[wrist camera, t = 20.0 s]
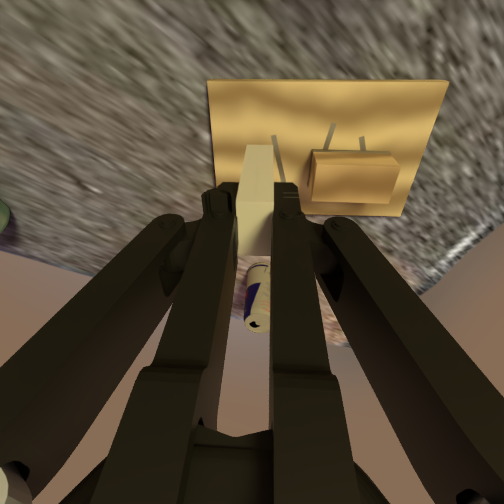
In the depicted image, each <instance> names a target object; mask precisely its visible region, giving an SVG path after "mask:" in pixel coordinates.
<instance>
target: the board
mask: <svg viewBox="0 0 504 504" xmlns="http://www.w3.org/2000/svg"><path fill="white" fill-rule="evenodd" d="M448 84H449V82H448V81H445V80H298V79H209V80H208V81H207V85H208V96H209V107H210V119H211V130H212V141H213V152H214V164H215V175H216V186H218V185H220V184H221V183H222V182H240V177H241V172H242V167H243V162H244V157H245V152H246V146H247V145H273V165H274V182H293V183H294V184H295V185H296V186H297V187H298V192H299V198H300V205H301V211H302V212H304V214H321V215H364V216H400V215H401V212H402V210H403V207H404V204H405V202H406V199H407V196H408V193H409V191H410V188H411V185H412V183H413V180H414V177H415V174H416V172H417V169H418V166H419V163H420V161H421V158H422V155H423V153H424V150H425V147H426V144H427V142H428V139H429V136H430V133H431V131H432V128H433V125H434V123H435V120H436V117H437V114H438V112H439V109H440V106H441V103H442V101H443V98H444V95H445V93H446V90H447V87H448ZM312 149H331V150H367V151H390V153H391V156H392V157H393V158H394V159H395V160H396V161H397V163H398V164H399V165H400V166H401V169H400V172H399V175H398V178H397V181H396V184H395V187H394V189H393V192H392V195H391V198H390V201H389V204H380V203H350V202H320V201H311V197H310V193H309V188H308V187H307V181H308V174H309V166H310V159H311V152H312Z"/></svg>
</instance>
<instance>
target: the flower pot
mask: <svg viewBox="0 0 504 504" xmlns="http://www.w3.org/2000/svg"><path fill="white" fill-rule="evenodd" d="M9 219H10V209H9V208H8V207H7V206H6V205H5V204H4V203H3V202H2V201H1V200H0V234H1V233H2V231H3V230H4V229H5V228H6V226H7V225H8V222H9Z"/></svg>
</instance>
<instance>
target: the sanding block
mask: <svg viewBox="0 0 504 504" xmlns="http://www.w3.org/2000/svg"><path fill="white" fill-rule="evenodd" d="M400 169H401V166H400V165H399V164H398V163H397V161H396V160H395V159H394V158H393V157H392V156H391V153H390V151H367V150H331V149H312V152H311V159H310V166H309V174H308V181H307V187H308V188H309V193H310V197H311V201H320V202H350V203H380V204H389V201H390V198H391V195H392V192H393V189H394V187H395V184H396V181H397V178H398V175H399V172H400Z"/></svg>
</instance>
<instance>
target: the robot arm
mask: <svg viewBox="0 0 504 504" xmlns="http://www.w3.org/2000/svg"><path fill="white" fill-rule="evenodd" d="M201 197H202V205H203V213H204V214H203V217H202V219H200V220H197V221H192V222H186V223H185V222H184V218H183V217H182V216H180V215H177V214H164V215H161V216H159V217H157V218H155V219H154V220H152V221H151V222H150V223H149V224H148V225H147V226H146V227H145V228H144V229H143V230H142V231H141V232H140V233H139V234H138V235H137V236H136V237H135V238H134V239H133V240H132V241H131V242H130V243H129V244H128V245H127V246H126V247H125V248H123V249H122V250H121V251H120V252H119V253H118V254H117V255H116V256H115V257H114V258H113V259H112V260H111V261H110V262H109V263H108V264H107V265H106V266H105V267H104V268H103V269H102V270H101V271H100V272H99V273H98V274H97V275H96V276H95V277H93V278H92V280H90V281H89V282H88V283H87V284H86V285H85V286H84V287H83V288H82V289H81V290H80V291H79V292H78V293H77V294H76V295H75V296H74V297H73V298H72V299H71V300H70V301H69V302H68V303H67V304H66V305H65V306H64V307H62V308H61V309H60V310H59V311H58V312H57V313H56V314H55V315H54V316H53V317H52V318H51V319H50V320H49V321H48V322H47V323H46V324H45V325H44V326H43V327H42V328H41V329H40V330H39V331H38V332H37V333H36V334H35V335H34V336H32V338H30V339H29V340H28V341H27V342H26V343H25V344H24V345H23V346H22V347H21V348H20V349H19V350H18V351H17V352H16V353H15V354H14V355H13V356H12V357H11V358H10V359H9V360H8V361H7V362H6V363H4V364H3V366H1V367H0V504H32V501H33V500H34V498H35V497H36V496H37V495H38V494H39V493H40V492H41V491H42V490H43V489H44V488H45V487H46V485H47V484H48V483H49V482H50V481H51V480H52V478H53V477H54V476H55V475H56V474H57V472H58V471H59V470H60V469H61V468H62V466H63V465H64V463H65V462H66V461H67V459H68V458H69V457H70V455H71V454H72V452H73V451H74V450H75V448H76V447H77V446H78V444H79V442H80V441H81V440H82V438H83V437H84V435H85V434H86V432H87V431H88V429H89V428H90V426H91V425H92V423H93V422H94V420H95V419H96V417H97V416H98V414H99V412H100V411H101V410H102V408H103V407H104V405H105V404H106V402H107V401H108V399H109V398H110V396H111V395H112V393H113V391H114V390H115V389H116V387H117V386H118V384H119V383H120V381H121V380H122V378H123V377H124V375H125V374H126V372H127V371H128V369H129V368H130V366H131V365H132V363H133V362H134V360H135V358H136V357H137V356H138V354H139V353H140V351H141V349H142V348H143V347H144V345H145V344H146V342H147V341H148V339H149V338H150V336H151V335H152V333H153V332H154V330H155V329H156V327H157V326H158V324H159V322H160V321H161V320H162V318H163V317H164V315H165V314H166V312H167V311H168V309H169V308H170V306H171V305H172V308H171V310H170V313H169V316H168V319H167V322H166V325H165V328H164V331H163V334H162V337H161V339H160V342H159V345H158V349H157V351H156V354H155V357H154V360H153V362H152V364H151V365H150V366H146V367H143V369H142V370H141V371H140V372H139V374H138V377H137V379H136V381H135V383H134V386H133V389H132V392H131V394H130V397H129V400H128V402H127V405H126V408H125V410H124V413H123V416H122V419H121V421H120V424H119V427H118V429H117V432H116V435H115V437H114V440H113V443H112V445H111V448H110V451H109V454H108V456H107V457H106V458H105V459H104V460H102V461H101V462H100V463H99V464H98V465H97V466H96V467H95V468H94V469H93V470H92V471H91V472H90V473H89V474H88V475H87V476H86V477H85V478H84V479H83V480H82V481H81V482H80V483H79V484H78V485H77V486H76V487H75V488H74V489H73V490H72V491H71V492H70V493H69V494H68V495H67V496H66V497H65V498H64V499H63V500H62V501H61V502H60V503H59V504H390V503H389V502H388V501H387V499H386V498H385V497H384V495H383V494H382V493H381V492H380V490H379V489H378V488H377V486H376V485H375V484H374V483H373V481H372V480H371V479H370V478H369V476H368V475H367V474H366V473H365V472H364V471H363V470H362V469H361V468H360V467H359V466H358V465H357V464H356V463H355V462H354V461H353V457H352V451H351V446H350V441H349V435H348V429H347V424H346V418H345V412H344V407H343V401H342V396H341V390H340V386H339V382H338V379H337V377H336V376H335V375H333V374H332V373H331V370H330V365H329V359H328V353H327V347H326V341H325V334H324V328H323V322H322V316H321V310H320V304H319V298H318V291H317V285H316V279H317V281H318V283H319V285H320V287H321V289H322V291H323V293H324V295H325V297H326V299H327V301H328V303H329V305H330V306H331V308H332V310H333V312H334V314H335V316H336V318H337V320H338V322H339V324H340V326H341V328H342V330H343V332H344V334H345V336H346V338H347V340H348V342H349V344H350V345H351V347H352V349H353V351H354V353H355V355H356V357H357V359H358V361H359V363H360V365H361V367H362V369H363V371H364V373H365V375H366V377H367V379H368V381H369V383H370V384H371V386H372V388H373V390H374V392H375V394H376V396H377V398H378V400H379V402H380V404H381V406H382V408H383V410H384V412H385V414H386V416H387V418H388V420H389V422H390V423H391V425H392V427H393V429H394V431H395V433H396V435H397V437H398V439H399V441H400V443H401V445H402V447H403V449H404V451H405V453H406V455H407V456H408V459H409V460H410V462H411V464H412V466H413V468H414V470H415V472H416V473H417V475H418V477H419V479H420V480H421V482H422V484H423V486H424V487H425V489H426V491H427V492H428V494H429V495H430V496H431V498H432V500H433V501H434V503H435V504H504V397H503V396H502V395H501V394H500V393H499V392H498V390H497V389H496V388H495V387H494V386H493V385H492V383H491V382H490V381H489V380H488V378H487V377H486V376H485V375H484V374H483V373H482V372H481V370H480V369H479V368H478V367H477V365H476V364H475V363H474V362H473V361H472V360H471V358H470V357H469V356H468V355H467V354H466V352H465V351H464V350H463V349H462V348H461V346H460V345H459V344H458V343H457V342H456V341H455V339H454V338H453V337H452V336H451V335H450V333H449V332H448V331H447V330H446V329H445V328H444V327H443V325H442V324H441V323H440V322H439V320H438V319H437V318H436V317H435V316H434V315H433V313H432V312H431V311H430V310H429V309H428V307H426V305H425V304H424V303H423V302H422V300H421V299H420V298H419V297H418V296H417V294H416V293H415V292H414V291H413V290H412V289H411V287H410V286H409V285H408V284H407V283H406V281H405V280H404V279H403V278H402V277H401V276H400V274H399V273H398V272H397V271H396V270H395V268H394V267H393V266H392V265H391V264H390V263H389V261H388V260H387V259H386V258H385V257H384V255H383V254H382V253H381V252H380V251H379V250H378V248H377V247H376V246H375V245H374V244H373V242H372V241H371V240H370V239H369V238H368V236H367V235H366V234H365V233H364V232H363V231H362V229H361V228H360V227H359V226H358V225H357V224H356V223H355V222H354V221H352V220H350V219H348V218H345V217H344V218H343V217H332V218H328V219H327V220H325V222H324V225H321V224H317V223H313V222H311V221H308V220H307V219H306V218H305V214H304V212H302V211H301V205H300V198H299V192H298V187H297V186H296V185H295V184H294V183H293V182H274V165H273V145H247V146H246V152H245V157H244V162H243V167H242V172H241V177H240V182H222V183H221V184H220V185H218V186H217V188H216V189H211V190H207V191H206V192H204V193H203V194H202V195H201ZM237 252H238V255H249V256H271V263H270V364H269V365H270V367H269V430H265V431H261V432H257V433H253V434H248V435H244V436H240V437H232V436H229V435H226V434H223V433H220V432H218V431H217V413H218V405H219V397H220V390H221V382H222V375H223V367H224V360H225V353H226V345H227V338H228V331H229V323H230V316H231V308H232V301H233V293H234V286H235V279H236V271H237V264H238V260H237ZM314 272H315V273H314ZM315 277H316V279H315ZM172 303H173V304H172Z"/></svg>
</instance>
